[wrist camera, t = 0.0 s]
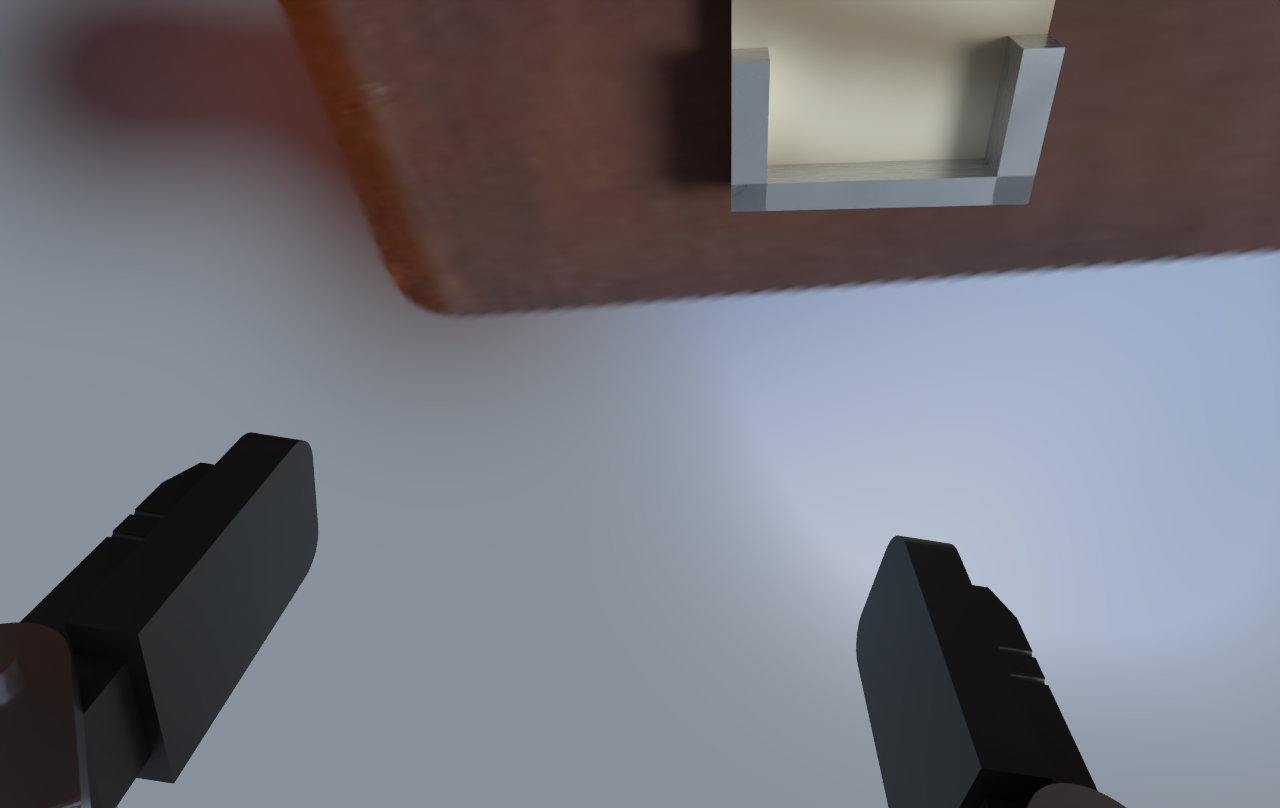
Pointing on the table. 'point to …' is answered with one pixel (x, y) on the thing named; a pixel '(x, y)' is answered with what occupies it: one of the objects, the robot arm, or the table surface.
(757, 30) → the rail board
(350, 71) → the table surface
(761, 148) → the bracket
